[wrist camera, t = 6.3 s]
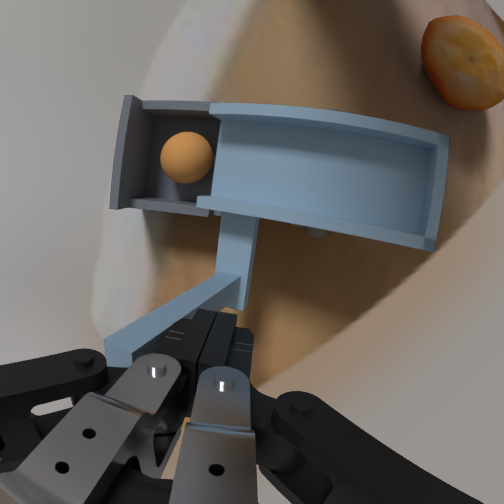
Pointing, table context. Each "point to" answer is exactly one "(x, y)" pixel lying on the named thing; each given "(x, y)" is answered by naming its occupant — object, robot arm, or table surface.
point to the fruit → (463, 62)
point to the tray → (148, 156)
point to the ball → (186, 157)
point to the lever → (302, 197)
